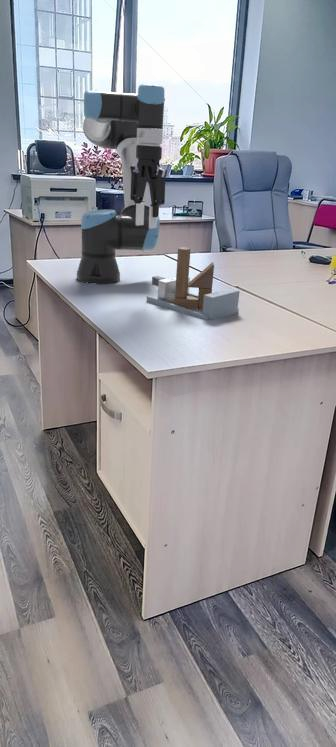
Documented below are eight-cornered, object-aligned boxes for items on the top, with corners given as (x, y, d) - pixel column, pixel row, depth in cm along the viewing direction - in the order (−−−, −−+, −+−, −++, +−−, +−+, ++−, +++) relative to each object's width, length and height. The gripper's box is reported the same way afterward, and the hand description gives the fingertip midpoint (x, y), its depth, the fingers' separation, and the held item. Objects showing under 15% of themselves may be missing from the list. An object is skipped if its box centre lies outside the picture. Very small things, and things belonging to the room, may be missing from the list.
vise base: (146, 302, 164) (147, 278, 161) (178, 295, 173) (179, 272, 170) (207, 324, 148) (209, 298, 145) (238, 315, 158) (241, 290, 154)
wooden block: (210, 312, 159) (215, 251, 151) (173, 310, 158) (177, 249, 151) (208, 308, 162) (214, 248, 154) (173, 306, 162) (177, 246, 154)
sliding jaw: (141, 297, 167) (142, 275, 165) (166, 292, 174) (167, 270, 172) (164, 305, 161) (165, 282, 158) (188, 299, 168) (190, 277, 165)
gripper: (118, 142, 159) (117, 222, 169) (162, 146, 148) (157, 232, 157) (137, 143, 164) (135, 221, 174) (180, 147, 153) (175, 230, 162)
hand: (146, 226), depth 166 cm, fingers open, 5 cm apart
